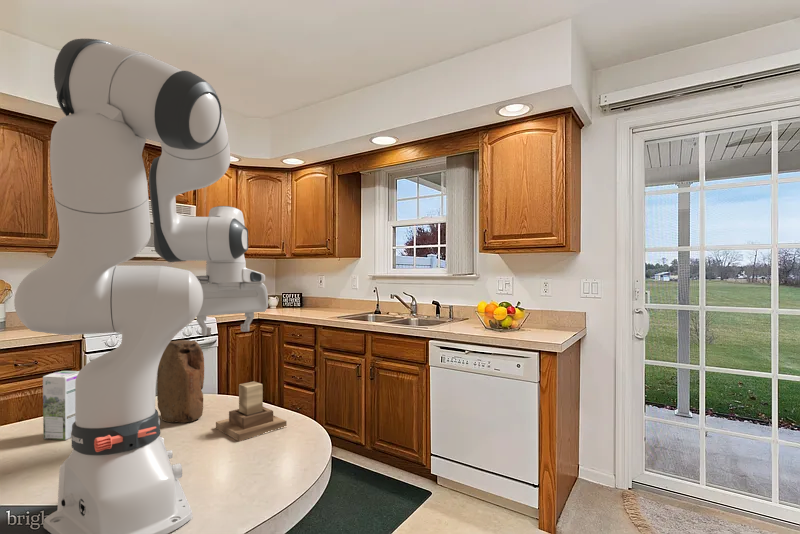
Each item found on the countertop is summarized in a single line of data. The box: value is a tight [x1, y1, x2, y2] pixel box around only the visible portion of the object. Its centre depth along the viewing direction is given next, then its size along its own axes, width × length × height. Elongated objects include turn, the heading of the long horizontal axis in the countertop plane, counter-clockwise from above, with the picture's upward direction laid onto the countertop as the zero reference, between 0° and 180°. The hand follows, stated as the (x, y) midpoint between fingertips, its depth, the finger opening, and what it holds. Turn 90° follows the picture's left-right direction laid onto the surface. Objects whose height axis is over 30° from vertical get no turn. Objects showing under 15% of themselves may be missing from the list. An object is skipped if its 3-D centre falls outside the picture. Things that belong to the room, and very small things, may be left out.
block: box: [156, 339, 205, 424], centre depth 113 cm, size 11×8×20 cm
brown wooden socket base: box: [215, 406, 288, 442], centre depth 106 cm, size 12×12×4 cm
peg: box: [238, 381, 264, 416], centre depth 106 cm, size 4×4×9 cm
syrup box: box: [42, 370, 80, 441], centre depth 102 cm, size 6×6×14 cm
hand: (226, 333), depth 105 cm, fingers open, 8 cm apart
